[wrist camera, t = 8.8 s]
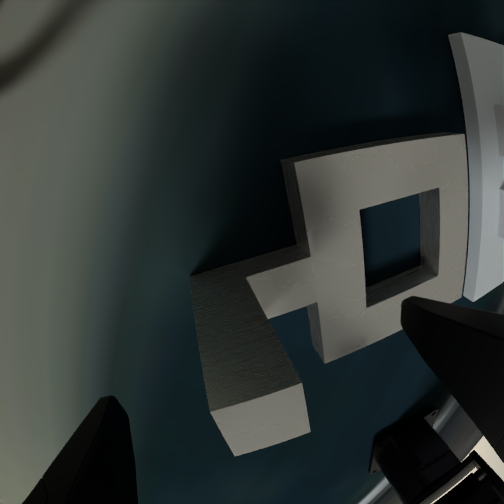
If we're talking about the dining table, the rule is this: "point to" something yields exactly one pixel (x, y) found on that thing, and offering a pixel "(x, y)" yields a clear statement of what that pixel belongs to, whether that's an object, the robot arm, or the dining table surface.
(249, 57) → the dining table surface
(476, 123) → the plate with round-ended peg
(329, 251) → the square frame with handle
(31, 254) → the dining table surface
